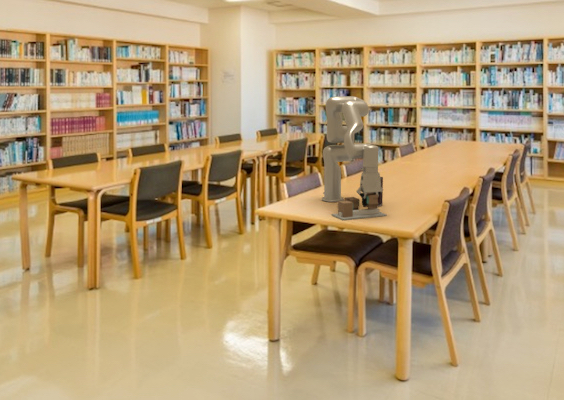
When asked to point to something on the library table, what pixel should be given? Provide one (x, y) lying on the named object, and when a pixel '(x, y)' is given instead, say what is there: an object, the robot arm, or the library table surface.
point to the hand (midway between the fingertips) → (369, 204)
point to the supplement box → (381, 193)
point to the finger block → (372, 201)
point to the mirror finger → (354, 201)
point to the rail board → (355, 212)
